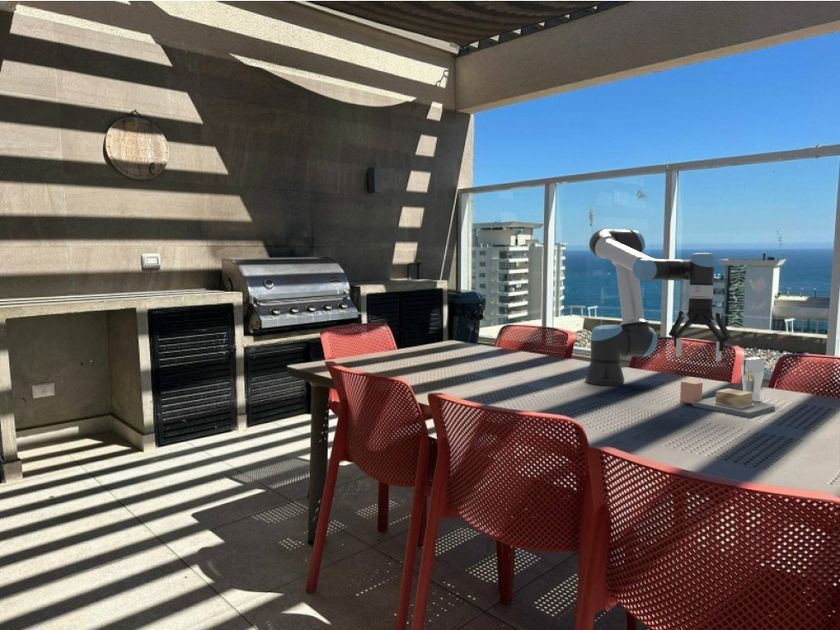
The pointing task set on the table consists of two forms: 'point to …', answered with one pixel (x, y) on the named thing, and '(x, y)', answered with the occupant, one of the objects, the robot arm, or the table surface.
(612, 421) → the table surface
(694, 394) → the terracotta block
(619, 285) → the robot arm
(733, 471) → the table surface
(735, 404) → the oak base block
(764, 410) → the build board
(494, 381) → the table surface
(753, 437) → the table surface
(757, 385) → the beer glass
